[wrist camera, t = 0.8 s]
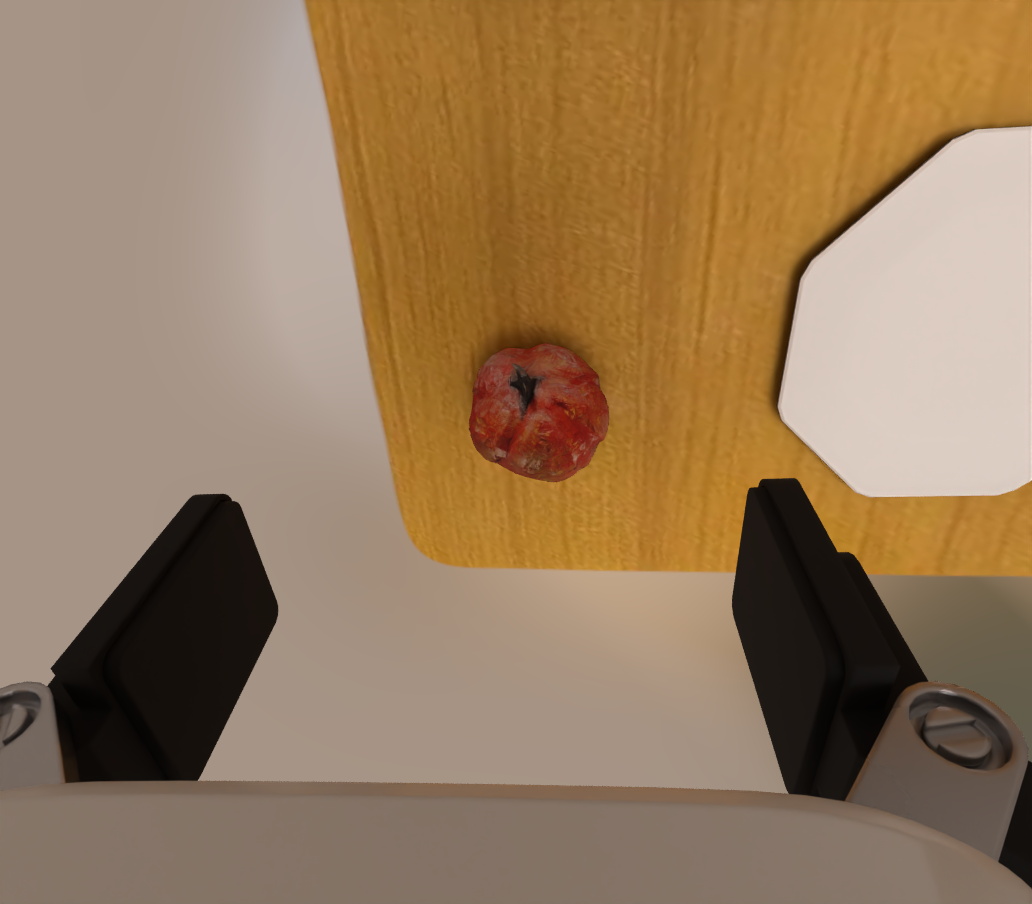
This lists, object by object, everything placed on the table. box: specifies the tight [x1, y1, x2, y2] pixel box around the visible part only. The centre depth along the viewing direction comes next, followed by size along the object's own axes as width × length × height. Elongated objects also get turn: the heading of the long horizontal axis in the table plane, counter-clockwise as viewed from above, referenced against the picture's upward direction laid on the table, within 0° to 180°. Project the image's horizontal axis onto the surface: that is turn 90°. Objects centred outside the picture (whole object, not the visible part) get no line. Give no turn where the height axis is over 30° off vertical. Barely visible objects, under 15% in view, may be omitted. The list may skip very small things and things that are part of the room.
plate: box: [777, 126, 1032, 497], centre depth 33 cm, size 20×20×2 cm
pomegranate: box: [469, 343, 609, 482], centre depth 34 cm, size 7×7×10 cm
